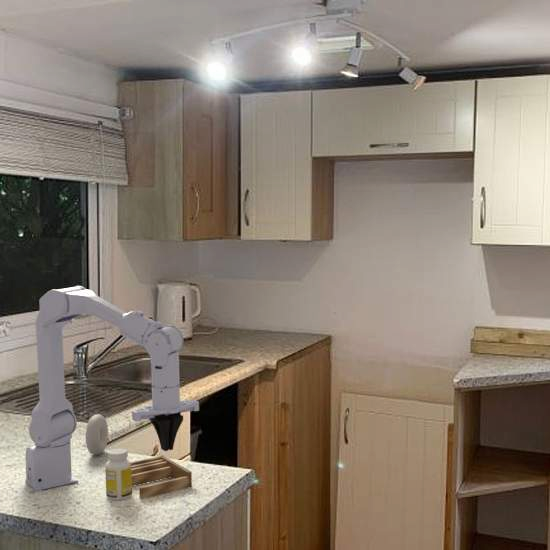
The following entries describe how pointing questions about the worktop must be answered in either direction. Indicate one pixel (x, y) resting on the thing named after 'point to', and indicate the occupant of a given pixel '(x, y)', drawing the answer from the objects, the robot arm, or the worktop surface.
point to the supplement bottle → (118, 475)
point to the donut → (96, 434)
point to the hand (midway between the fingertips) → (167, 449)
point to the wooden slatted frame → (159, 476)
